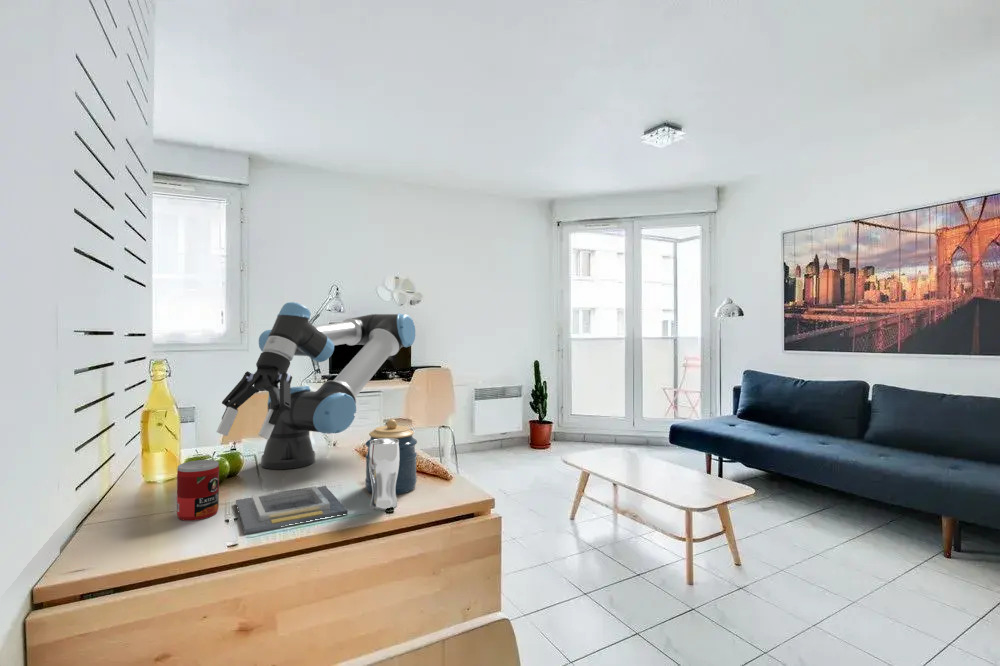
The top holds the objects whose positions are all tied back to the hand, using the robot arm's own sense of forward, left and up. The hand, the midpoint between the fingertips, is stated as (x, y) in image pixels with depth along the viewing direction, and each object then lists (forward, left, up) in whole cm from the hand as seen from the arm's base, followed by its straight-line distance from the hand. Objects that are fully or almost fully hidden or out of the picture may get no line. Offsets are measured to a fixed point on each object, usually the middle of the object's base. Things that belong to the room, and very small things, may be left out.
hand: (242, 435), depth 117 cm
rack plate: (+1, +16, -15) cm, 22 cm away
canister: (-21, +28, -15) cm, 38 cm away
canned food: (+11, 0, -15) cm, 19 cm away
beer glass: (-9, +34, -15) cm, 39 cm away
